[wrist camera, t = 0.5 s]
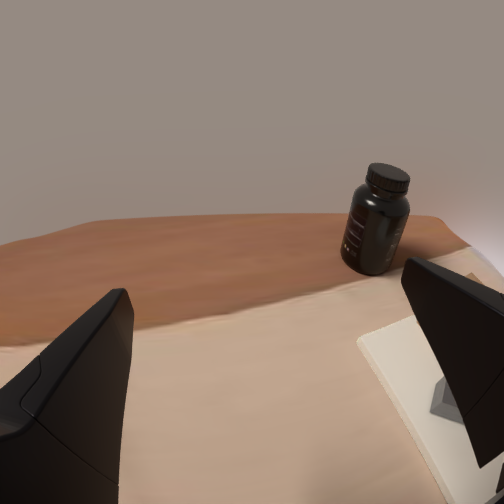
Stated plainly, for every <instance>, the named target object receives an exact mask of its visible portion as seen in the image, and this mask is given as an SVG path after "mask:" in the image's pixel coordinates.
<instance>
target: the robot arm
mask: <svg viewBox="0 0 504 504" xmlns="http://www.w3.org/2000/svg"><path fill="white" fill-rule="evenodd" d="M401 284H402V287H403V289H404V291H405V294H406V296H407V298H408V300H409V303H410V305H411V307H412V310H413V312H414V315H415V317H416V319H417V321H418V323H419V325H420V327H421V329H422V331H423V333H424V335H425V337H426V339H427V341H428V343H429V345H430V347H431V349H432V351H433V353H434V355H435V357H436V359H437V361H438V363H439V366H440V368H441V370H442V372H443V374H444V376H445V379H446V381H447V383H448V385H449V388H450V390H451V392H452V395H453V397H454V400H455V402H456V404H457V407H458V409H459V412H460V414H461V417H462V420H463V423H464V425H465V428H466V431H467V434H468V436H469V439H470V442H471V445H472V448H473V451H474V454H475V457H476V461H477V464H478V466H479V468H480V469H481V468H482V467H484V466H485V465H487V464H488V463H489V462H491V461H492V460H493V459H495V458H496V457H497V456H499V455H500V454H501V453H503V452H504V294H502V293H499V292H498V291H495V290H493V289H491V288H489V287H487V286H485V285H482V284H480V283H478V282H476V281H473V280H471V279H469V278H467V277H464V276H462V275H460V274H458V273H455V272H453V271H451V270H448V269H446V268H444V267H441V266H439V265H436V264H434V263H432V262H429V261H427V260H424V259H422V258H419V257H412V258H408V259H407V260H406V262H405V266H404V270H403V274H402V277H401ZM133 325H134V310H133V307H132V304H131V301H130V298H129V295H128V292H127V291H126V289H124V288H118V289H112V290H111V291H110V292H108V293H107V294H106V295H105V296H104V297H103V298H101V299H100V300H99V301H98V302H97V303H96V304H94V305H93V306H92V307H91V308H90V309H89V310H87V311H86V312H85V313H84V314H83V315H82V316H81V317H79V318H78V319H77V320H76V321H75V322H74V323H73V324H71V325H70V326H69V327H68V328H67V329H66V330H65V331H64V332H63V333H61V334H60V335H59V336H58V337H57V338H56V339H55V340H54V341H53V342H52V343H51V344H49V345H48V346H47V347H46V348H45V349H44V350H43V351H42V352H41V353H40V355H38V356H37V357H35V358H34V359H33V360H32V361H31V362H30V363H29V364H28V365H27V366H26V367H25V368H24V369H23V370H22V371H21V372H20V373H18V374H17V375H16V376H15V377H14V378H13V379H11V380H10V381H9V382H8V383H7V384H6V385H4V386H3V387H2V388H1V389H0V504H118V493H119V486H118V484H119V465H120V450H121V438H122V427H123V418H124V409H125V401H126V393H127V386H128V379H129V372H130V366H131V358H132V341H133ZM485 504H504V463H503V464H502V469H501V473H500V477H499V481H498V485H497V488H496V495H495V496H494V497H492V498H491V499H490V500H489V501H487V502H486V503H485Z"/></svg>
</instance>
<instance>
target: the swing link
mask: <svg viewBox="0 0 504 504" xmlns="http://www.w3.org/2000/svg"><path fill="white" fill-rule="evenodd" d="M429 412H431V413H433V414H436V415H439V416H442V417H445V418H448V419H450V420H453V421H456V422H459V423H462V424H464V423H463V420H462V417H461V414H460V412H459V409H458V407H457V404H456V402H455V400H454V397H453V395H452V392H451V390H450V388H449V385H448V383H447V381H446V379H445V376H443V377H442V378H441V379H440V380H439V381H438V382H437V383H436V385H435V390H434V394H433V399H432V403H431V407H430V411H429Z"/></svg>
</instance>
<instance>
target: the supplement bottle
mask: <svg viewBox="0 0 504 504" xmlns="http://www.w3.org/2000/svg"><path fill="white" fill-rule="evenodd" d="M365 182H366V183H365V184H363V185H361V186H359V187H358V188H357V189H356V190H355V192H354V195H353V199H352V203H351V207H350V212H349V216H348V220H347V224H346V229H345V233H344V237H343V241H342V245H341V256H342V259H343V260H344V262H345V263H346V264H347V265H348V266H349V267H350V268H352V269H353V270H355V271H357V272H360V273H363V274H367V275H377V274H381V273H383V272H385V271H386V270H387V269H388V268H389V267H390V265H391V262H392V260H393V257H394V255H395V252H396V250H397V247H398V244H399V242H400V239H401V236H402V233H403V231H404V228H405V225H406V222H407V219H408V216H409V213H410V205H409V202H408V200H407V198H406V197H405V195H406V194H407V192H408V186H409V182H410V177H409V175H408V174H407V173H406V172H404V171H403V170H401V169H399V168H397V167H394V166H392V165H388V164H384V163H372V164H370V165H369V167H368V172H367V175H366V179H365Z"/></svg>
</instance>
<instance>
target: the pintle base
mask: <svg viewBox="0 0 504 504" xmlns="http://www.w3.org/2000/svg"><path fill="white" fill-rule="evenodd" d="M465 277H467V278H469V279H471V280H473V281H476V282H478V283H480V284H482V285H483V283H482V282H481V281H480V280H479V279H478V278H477V277H476V276H475V275H474V274H473V273H470V274H468V275H467V276H465ZM356 343H357V345H358V347H359V348H360V350H361V352H362V353H363V355H364V356H365V358H366V360H367V361H368V363H369V365H370V366H371V368H372V370H373V371H374V373H375V374H376V376H377V378H378V379H379V381H380V383H381V384H382V386H383V388H384V389H385V391H386V393H387V395H388V396H389V398H390V400H391V401H392V403H393V405H394V406H395V408H396V410H397V412H398V413H399V415H400V417H401V419H402V420H403V422H404V424H405V425H406V427H407V429H408V431H409V433H410V434H411V436H412V438H413V440H414V441H415V443H416V445H417V447H418V449H419V450H420V452H421V454H422V456H423V458H424V460H425V461H426V463H427V465H428V467H429V469H430V471H431V473H432V474H433V476H434V478H435V480H436V482H437V484H438V486H439V488H440V490H441V492H442V494H443V495H444V497H445V499H446V501H447V503H448V504H485V503H486V502H487V501H489V500H490V499H491V498H492V497H494V496H495V495H496V488H497V485H498V481H499V477H500V473H501V469H502V464H503V463H504V452H503V453H501V454H500V455H499V456H497V457H496V458H495V459H493V460H492V461H491V462H489V463H488V464H487V465H485V466H484V467H482V468H481V469H480V468H479V466H478V464H477V461H476V457H475V454H474V451H473V448H472V445H471V442H470V439H469V436H468V434H467V431H466V428H465V425H464V424H462V423H459V422H456V421H453V420H450V419H448V418H445V417H442V416H439V415H436V414H433V413H431V412H429V411H430V407H431V403H432V399H433V394H434V390H435V385H436V383H437V382H438V381H439V380H440V379H441V378H442V377H443V376H444V374H443V372H442V370H441V368H440V366H439V363H438V361H437V359H436V357H435V355H434V353H433V351H432V349H431V347H430V345H429V343H428V341H427V339H426V337H425V335H424V333H423V331H422V329H421V327H420V325H419V323H418V321H417V319H416V317H415V315H412V316H410V317H407V318H405V319H403V320H400V321H398V322H395V323H393V324H390V325H388V326H385V327H383V328H380V329H378V330H375V331H373V332H370V333H368V334H365V335H362V336H359V338H358V340H357V342H356Z"/></svg>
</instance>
